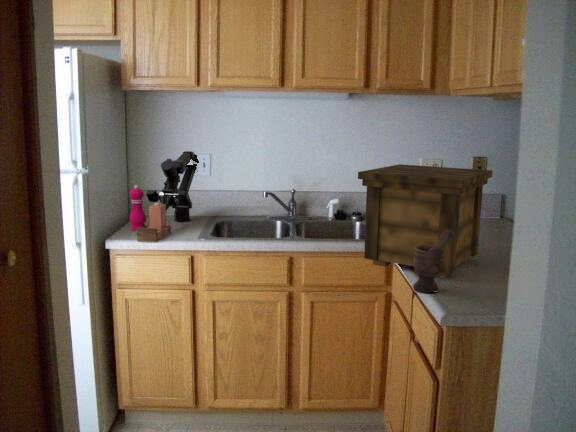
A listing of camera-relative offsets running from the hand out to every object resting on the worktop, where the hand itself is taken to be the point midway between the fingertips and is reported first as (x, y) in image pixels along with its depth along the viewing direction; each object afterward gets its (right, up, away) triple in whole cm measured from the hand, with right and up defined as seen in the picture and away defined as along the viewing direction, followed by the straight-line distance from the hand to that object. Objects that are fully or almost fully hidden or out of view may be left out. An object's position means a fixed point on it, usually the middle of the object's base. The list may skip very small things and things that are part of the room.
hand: (163, 211), depth 229 cm
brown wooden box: (-2, -11, -9) cm, 14 cm away
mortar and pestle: (+98, -24, -73) cm, 125 cm away
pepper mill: (-13, -8, +6) cm, 16 cm away
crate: (+103, -19, -43) cm, 113 cm away
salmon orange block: (-1, -7, -5) cm, 9 cm away
